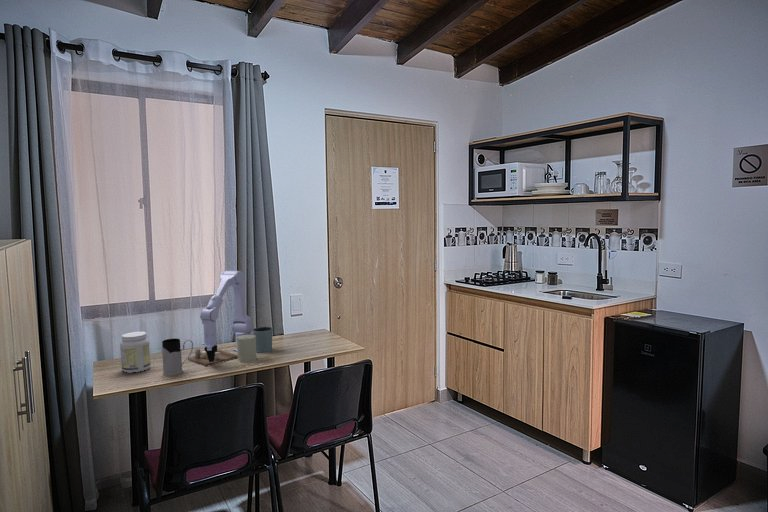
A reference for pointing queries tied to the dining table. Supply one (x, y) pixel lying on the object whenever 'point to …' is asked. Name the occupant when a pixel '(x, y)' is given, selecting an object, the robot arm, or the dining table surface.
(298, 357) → the dining table surface
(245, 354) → the can
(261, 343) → the teal cylindrical container
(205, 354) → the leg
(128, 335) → the supplement tub
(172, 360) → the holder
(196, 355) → the frame board
